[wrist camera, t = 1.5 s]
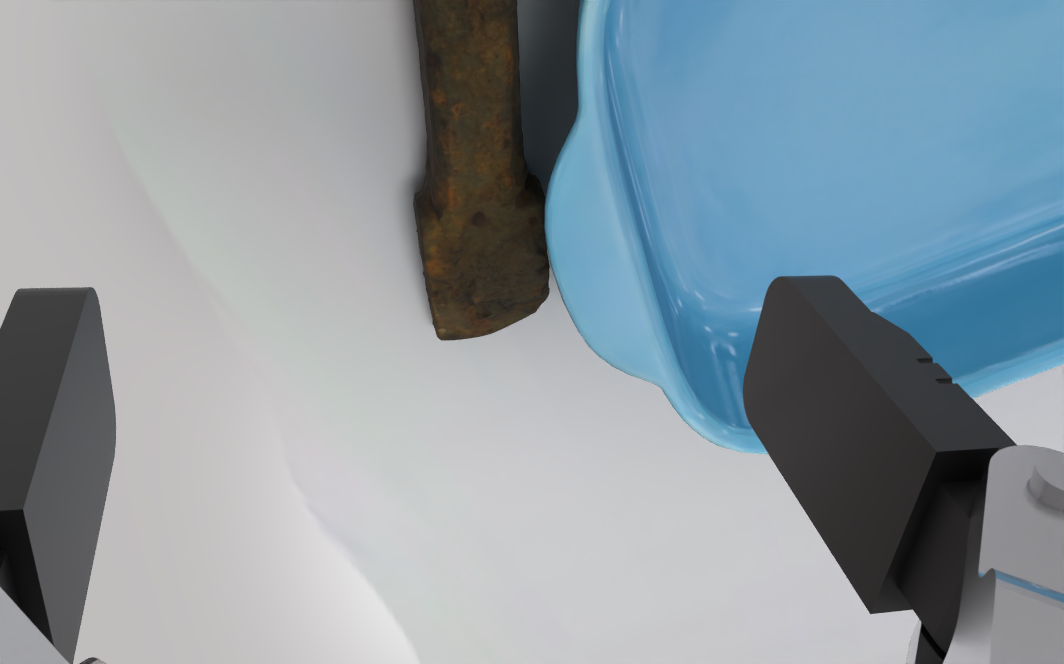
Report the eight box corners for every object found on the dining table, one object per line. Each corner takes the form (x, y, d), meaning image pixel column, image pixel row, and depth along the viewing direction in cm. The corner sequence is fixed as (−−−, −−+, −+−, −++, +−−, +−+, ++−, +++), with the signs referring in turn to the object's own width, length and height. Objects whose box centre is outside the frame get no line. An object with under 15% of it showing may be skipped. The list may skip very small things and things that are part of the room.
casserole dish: (1570, -572, 29) (1891, -634, 24) (1405, 106, 42) (1586, 175, 36) (401, -131, 29) (431, -82, 23) (593, 415, 42) (644, 534, 36)
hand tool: (374, -245, 24) (565, -252, 24) (367, -258, 27) (536, -263, 28) (431, 385, 34) (563, 370, 35) (421, 322, 38) (542, 309, 38)
